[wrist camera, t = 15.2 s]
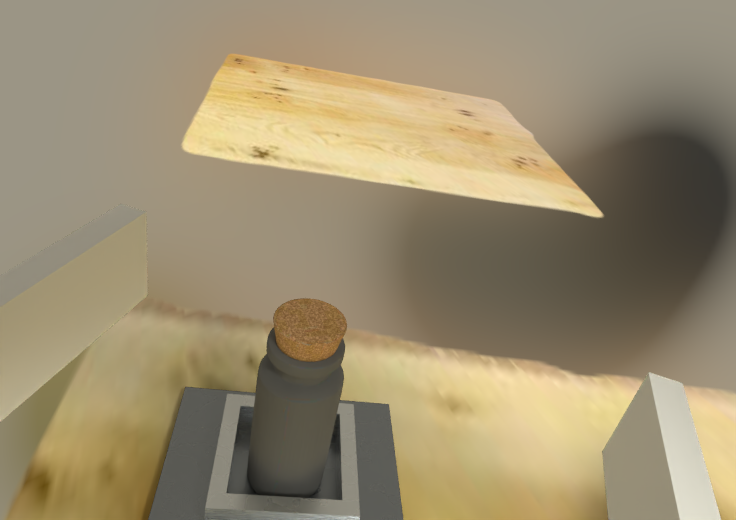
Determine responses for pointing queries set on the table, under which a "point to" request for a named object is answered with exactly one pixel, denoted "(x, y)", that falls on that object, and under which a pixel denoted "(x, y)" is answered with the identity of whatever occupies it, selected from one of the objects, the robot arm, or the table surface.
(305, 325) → the bottle
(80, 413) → the table surface
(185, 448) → the collar plate
